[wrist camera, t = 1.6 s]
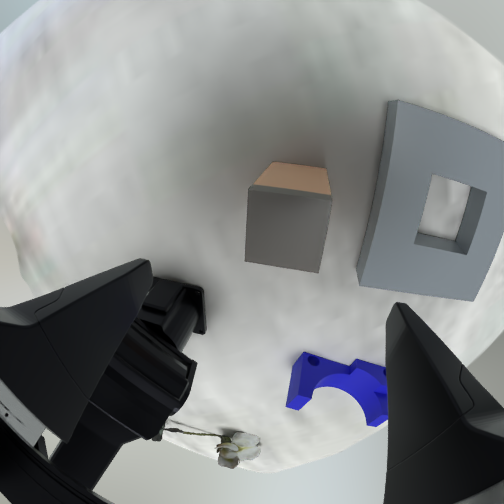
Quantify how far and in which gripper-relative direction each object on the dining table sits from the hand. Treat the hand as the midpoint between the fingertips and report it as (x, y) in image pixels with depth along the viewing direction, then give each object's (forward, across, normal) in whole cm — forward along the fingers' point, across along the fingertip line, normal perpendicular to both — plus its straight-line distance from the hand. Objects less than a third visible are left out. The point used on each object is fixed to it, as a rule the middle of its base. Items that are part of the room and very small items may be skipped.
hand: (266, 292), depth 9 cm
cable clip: (+13, -9, +20) cm, 26 cm away
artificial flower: (+13, +10, +48) cm, 51 cm away
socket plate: (+13, -12, -1) cm, 18 cm away
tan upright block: (+13, 0, 0) cm, 13 cm away
